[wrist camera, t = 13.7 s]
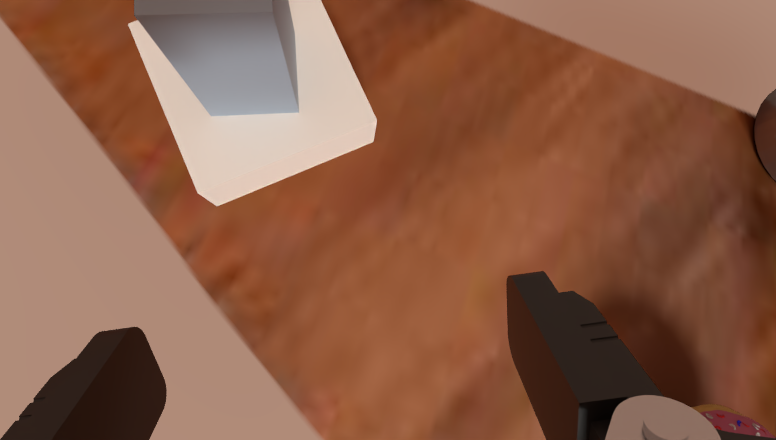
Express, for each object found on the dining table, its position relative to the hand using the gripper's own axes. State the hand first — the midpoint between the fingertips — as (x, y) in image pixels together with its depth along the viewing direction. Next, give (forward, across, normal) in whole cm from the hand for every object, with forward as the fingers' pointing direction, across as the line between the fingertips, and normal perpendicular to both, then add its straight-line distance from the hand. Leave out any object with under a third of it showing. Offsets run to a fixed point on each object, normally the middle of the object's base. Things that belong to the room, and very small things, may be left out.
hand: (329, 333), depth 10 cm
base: (+24, +6, -1) cm, 25 cm away
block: (+21, +5, -3) cm, 22 cm away
